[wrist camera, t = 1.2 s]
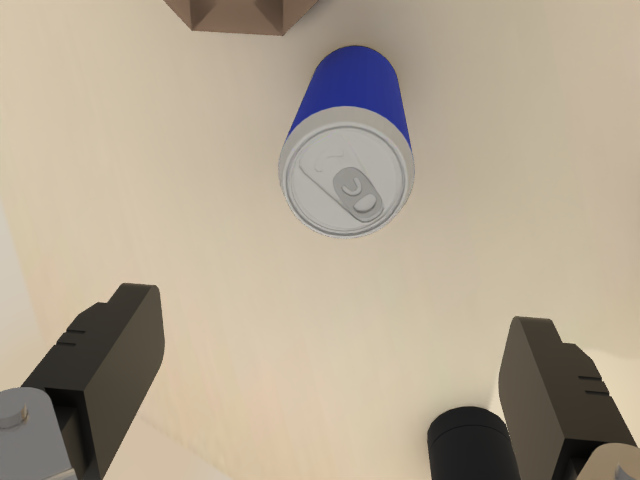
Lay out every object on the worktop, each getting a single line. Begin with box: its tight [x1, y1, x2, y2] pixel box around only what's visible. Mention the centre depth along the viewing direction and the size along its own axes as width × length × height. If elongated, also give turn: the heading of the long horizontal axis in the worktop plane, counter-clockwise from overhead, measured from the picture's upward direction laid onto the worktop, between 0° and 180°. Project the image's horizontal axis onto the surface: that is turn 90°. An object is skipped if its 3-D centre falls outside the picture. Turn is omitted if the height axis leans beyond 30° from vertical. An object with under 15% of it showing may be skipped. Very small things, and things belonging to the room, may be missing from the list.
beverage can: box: [279, 46, 415, 239], centre depth 28 cm, size 5×5×15 cm
